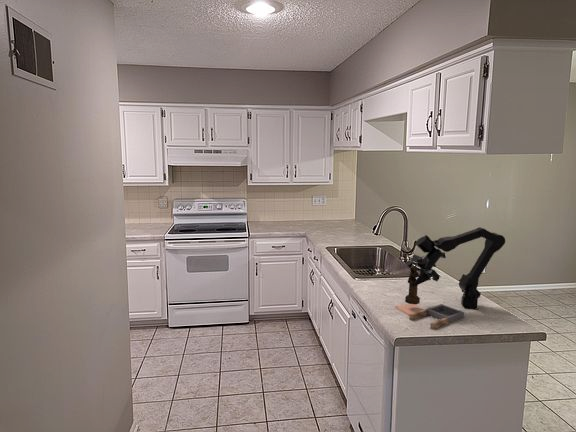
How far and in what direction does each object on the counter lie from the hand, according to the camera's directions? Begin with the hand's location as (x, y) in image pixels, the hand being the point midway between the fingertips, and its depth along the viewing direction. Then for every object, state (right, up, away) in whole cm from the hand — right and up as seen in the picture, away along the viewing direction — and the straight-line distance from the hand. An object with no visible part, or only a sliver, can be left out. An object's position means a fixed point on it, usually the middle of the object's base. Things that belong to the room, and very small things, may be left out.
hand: (411, 284), depth 197 cm
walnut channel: (+5, -15, -10) cm, 19 cm away
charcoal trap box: (+15, -14, -3) cm, 21 cm away
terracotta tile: (+1, -13, +3) cm, 13 cm away
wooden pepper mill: (+1, -9, +2) cm, 10 cm away
